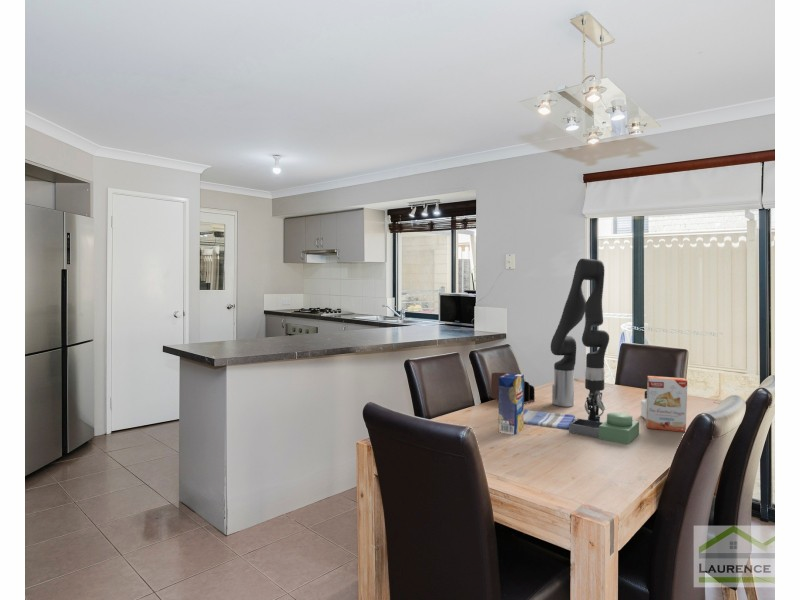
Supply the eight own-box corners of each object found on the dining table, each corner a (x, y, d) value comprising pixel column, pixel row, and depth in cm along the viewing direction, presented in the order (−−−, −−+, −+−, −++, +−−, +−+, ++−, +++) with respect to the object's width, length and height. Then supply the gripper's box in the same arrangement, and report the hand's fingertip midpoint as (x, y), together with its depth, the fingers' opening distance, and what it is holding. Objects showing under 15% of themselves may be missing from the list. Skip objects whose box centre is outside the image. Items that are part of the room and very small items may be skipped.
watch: (604, 426, 209) (605, 400, 208) (583, 424, 212) (584, 398, 211) (604, 422, 214) (605, 397, 213) (584, 420, 217) (585, 395, 216)
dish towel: (523, 413, 232) (523, 407, 231) (576, 420, 220) (576, 414, 220) (511, 423, 216) (511, 416, 216) (568, 431, 205) (568, 424, 205)
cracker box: (647, 429, 206) (648, 377, 205) (645, 425, 212) (646, 375, 211) (686, 432, 201) (687, 380, 200) (684, 428, 207) (685, 377, 206)
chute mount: (569, 432, 201) (569, 423, 201) (577, 426, 209) (577, 418, 209) (599, 438, 194) (599, 429, 194) (607, 431, 202) (607, 423, 202)
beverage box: (523, 427, 208) (523, 374, 207) (515, 435, 198) (515, 379, 197) (507, 425, 211) (507, 372, 210) (498, 432, 202) (498, 377, 201)
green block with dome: (597, 438, 194) (598, 417, 193) (609, 428, 206) (610, 409, 206) (628, 444, 187) (628, 422, 186) (638, 433, 199) (639, 413, 199)
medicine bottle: (663, 420, 218) (663, 393, 217) (645, 419, 219) (645, 392, 219) (658, 416, 225) (658, 389, 224) (640, 415, 226) (641, 388, 226)
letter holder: (523, 405, 246) (523, 376, 245) (490, 398, 260) (490, 371, 260) (534, 402, 252) (535, 373, 252) (502, 395, 267) (502, 368, 266)
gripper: (591, 374, 220) (590, 413, 221) (580, 379, 209) (579, 420, 210) (609, 376, 215) (608, 416, 216) (598, 381, 204) (598, 424, 205)
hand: (594, 418), depth 213 cm, fingers open, 3 cm apart
